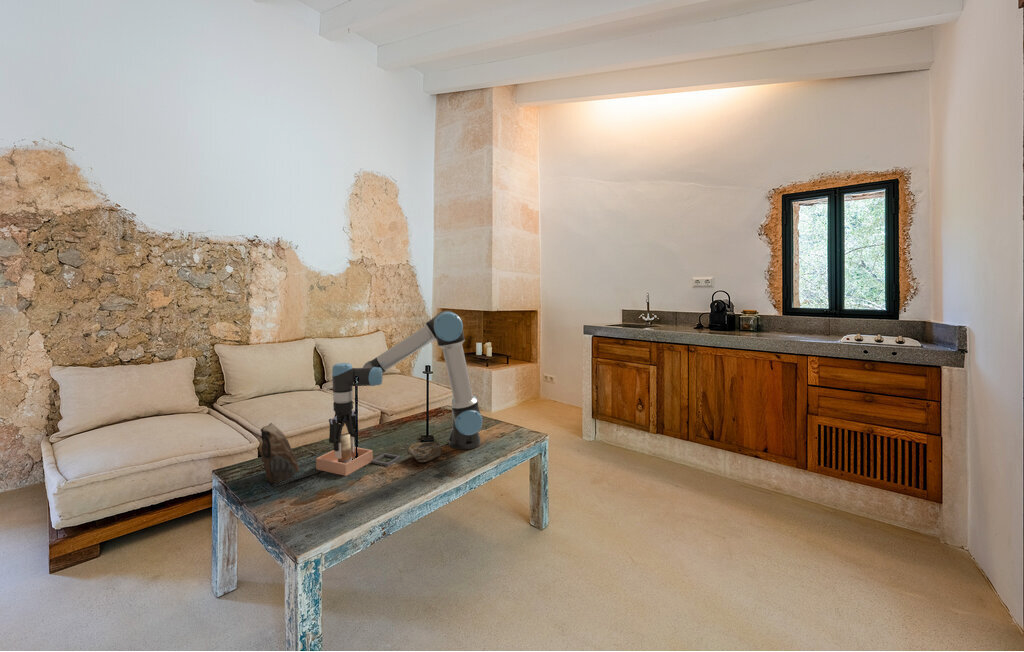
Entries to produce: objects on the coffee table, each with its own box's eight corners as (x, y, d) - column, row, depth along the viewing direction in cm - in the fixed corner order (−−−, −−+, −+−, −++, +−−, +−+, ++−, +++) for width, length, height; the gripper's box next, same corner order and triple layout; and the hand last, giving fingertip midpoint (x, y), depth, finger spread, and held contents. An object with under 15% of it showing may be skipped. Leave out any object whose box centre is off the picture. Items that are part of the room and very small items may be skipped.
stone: (413, 460, 172) (410, 437, 178) (407, 469, 179) (406, 447, 185) (444, 457, 178) (441, 435, 184) (438, 466, 185) (435, 445, 191)
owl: (273, 485, 157) (271, 434, 155) (249, 480, 161) (246, 429, 159) (301, 471, 169) (299, 423, 167) (277, 467, 173) (275, 419, 171)
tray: (372, 460, 179) (372, 450, 179) (346, 475, 165) (345, 464, 165) (344, 454, 185) (344, 444, 185) (316, 469, 171) (315, 458, 170)
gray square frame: (400, 458, 182) (400, 456, 182) (387, 466, 174) (387, 463, 174) (384, 455, 185) (384, 453, 185) (371, 462, 177) (371, 460, 177)
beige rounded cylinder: (355, 461, 177) (353, 434, 175) (345, 467, 171) (343, 439, 170) (344, 459, 179) (343, 432, 177) (334, 465, 174) (333, 437, 172)
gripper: (353, 394, 183) (354, 445, 185) (317, 406, 165) (319, 462, 167) (366, 395, 180) (368, 447, 182) (331, 408, 162) (334, 465, 164)
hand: (345, 454), depth 175 cm, fingers open, 7 cm apart
